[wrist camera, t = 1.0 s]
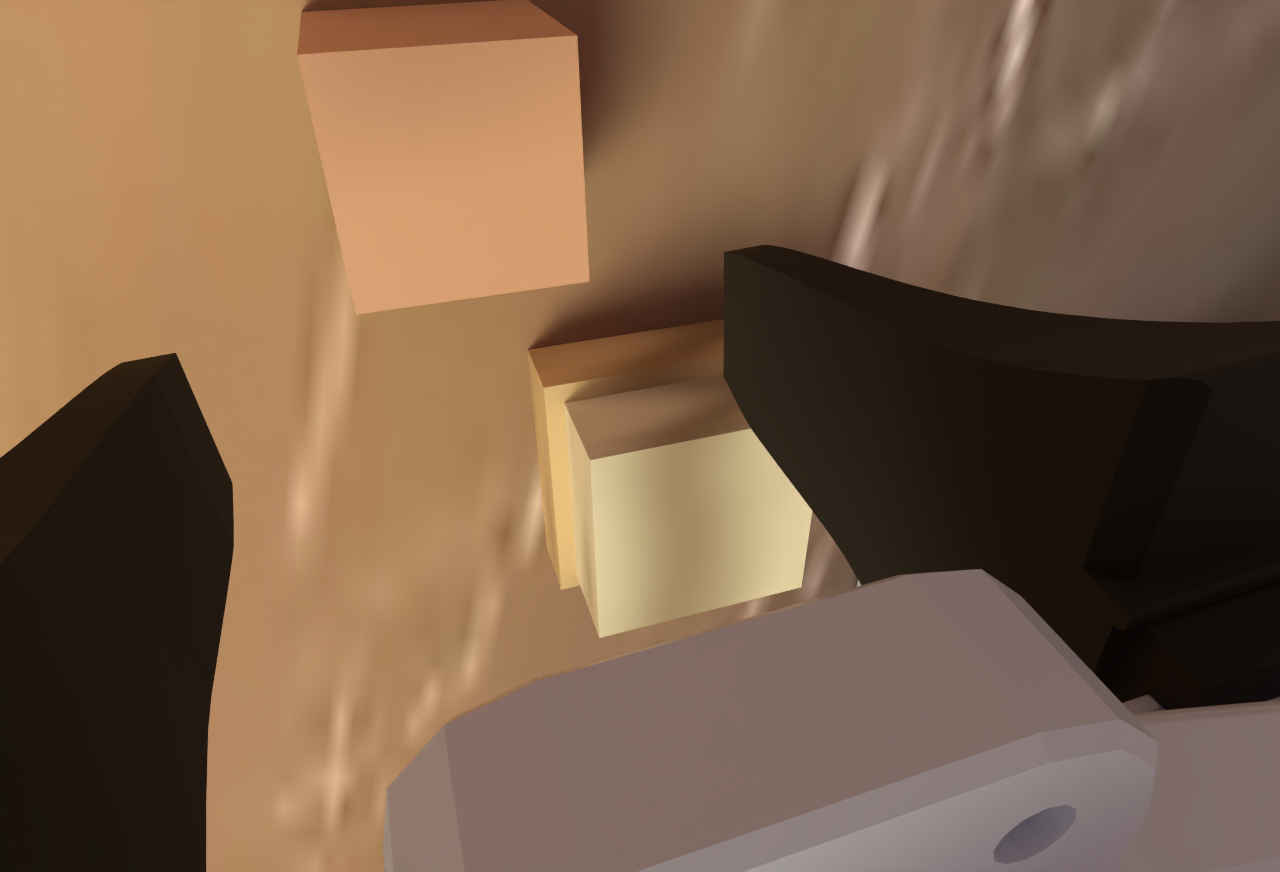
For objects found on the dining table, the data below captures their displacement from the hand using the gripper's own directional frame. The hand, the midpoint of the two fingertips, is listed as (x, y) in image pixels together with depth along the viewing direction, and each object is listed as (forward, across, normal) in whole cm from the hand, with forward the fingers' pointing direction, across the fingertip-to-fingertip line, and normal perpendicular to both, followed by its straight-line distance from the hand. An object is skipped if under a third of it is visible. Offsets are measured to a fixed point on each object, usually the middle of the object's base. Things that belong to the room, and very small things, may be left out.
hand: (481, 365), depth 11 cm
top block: (+8, -5, +9) cm, 13 cm away
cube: (+10, -1, -1) cm, 10 cm away
